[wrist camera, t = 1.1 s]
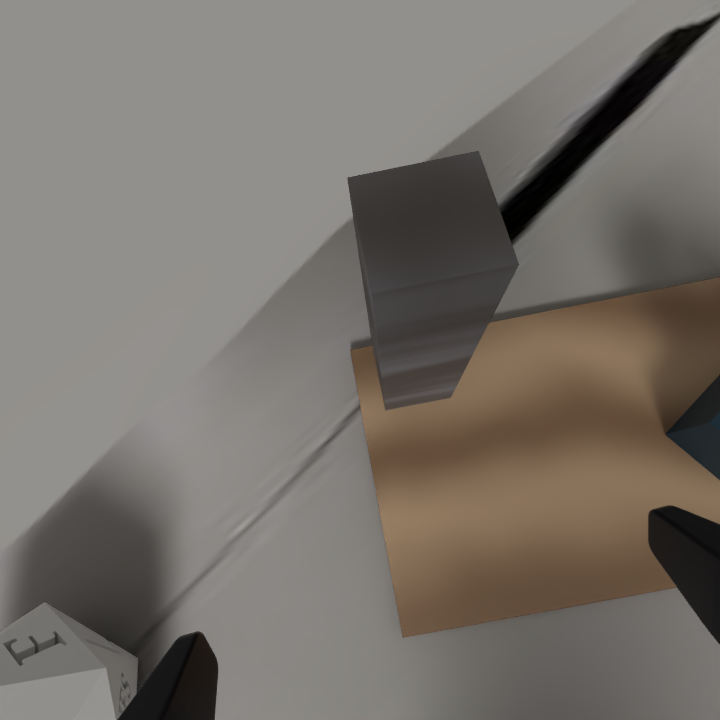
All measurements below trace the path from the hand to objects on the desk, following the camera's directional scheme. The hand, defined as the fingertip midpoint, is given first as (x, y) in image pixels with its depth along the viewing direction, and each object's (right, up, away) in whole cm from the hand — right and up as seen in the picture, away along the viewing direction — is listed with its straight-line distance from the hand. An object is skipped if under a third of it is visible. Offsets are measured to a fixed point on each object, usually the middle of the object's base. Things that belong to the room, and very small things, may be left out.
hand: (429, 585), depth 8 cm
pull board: (+12, +1, +13) cm, 18 cm away
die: (-14, -12, +11) cm, 21 cm away
